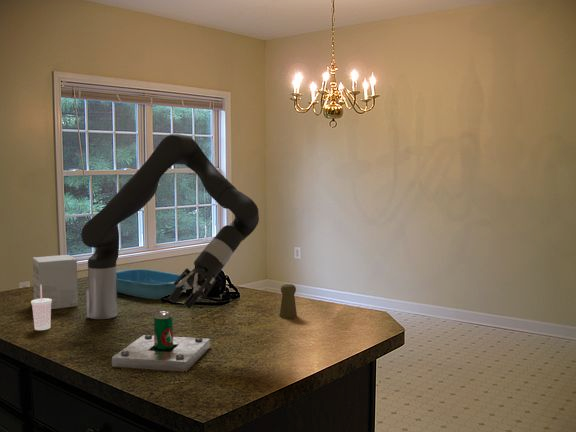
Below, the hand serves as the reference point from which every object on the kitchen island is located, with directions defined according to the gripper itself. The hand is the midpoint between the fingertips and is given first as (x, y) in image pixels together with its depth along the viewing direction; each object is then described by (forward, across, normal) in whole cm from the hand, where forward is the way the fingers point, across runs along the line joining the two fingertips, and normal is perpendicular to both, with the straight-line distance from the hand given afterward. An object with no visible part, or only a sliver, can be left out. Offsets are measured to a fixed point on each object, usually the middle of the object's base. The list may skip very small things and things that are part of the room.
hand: (178, 303), depth 163 cm
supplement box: (+16, -78, +5) cm, 79 cm away
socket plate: (+13, 0, +6) cm, 15 cm away
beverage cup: (+25, -49, -5) cm, 55 cm away
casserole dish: (-10, -76, +30) cm, 82 cm away
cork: (-24, -11, +44) cm, 52 cm away
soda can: (+13, 0, +7) cm, 15 cm away
